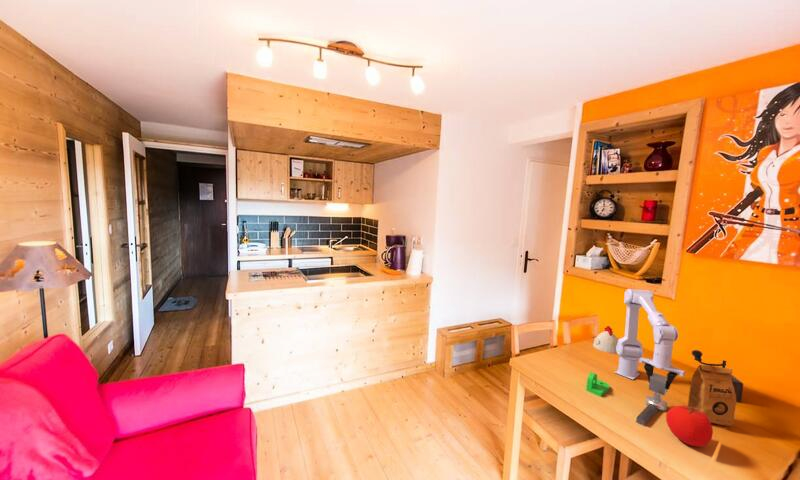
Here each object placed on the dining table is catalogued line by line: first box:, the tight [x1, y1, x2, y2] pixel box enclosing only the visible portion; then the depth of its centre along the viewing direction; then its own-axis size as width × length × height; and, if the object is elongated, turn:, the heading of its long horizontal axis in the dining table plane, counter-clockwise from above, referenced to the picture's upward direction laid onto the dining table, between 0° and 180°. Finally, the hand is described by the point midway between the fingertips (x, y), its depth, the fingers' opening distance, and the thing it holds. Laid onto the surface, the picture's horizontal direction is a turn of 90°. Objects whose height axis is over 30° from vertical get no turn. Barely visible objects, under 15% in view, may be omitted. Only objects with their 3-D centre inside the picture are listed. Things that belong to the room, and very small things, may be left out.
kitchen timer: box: [592, 325, 618, 355], centre depth 190 cm, size 14×14×15 cm
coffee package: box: [687, 364, 737, 427], centre depth 127 cm, size 10×12×22 cm
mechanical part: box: [585, 371, 610, 398], centre depth 147 cm, size 12×6×8 cm, turn 128°
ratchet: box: [635, 392, 668, 426], centre depth 130 cm, size 24×7×5 cm, turn 128°
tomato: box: [665, 404, 714, 448], centre depth 114 cm, size 12×12×13 cm
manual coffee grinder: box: [691, 349, 744, 404], centre depth 147 cm, size 16×11×18 cm
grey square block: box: [648, 372, 669, 396], centre depth 134 cm, size 5×5×6 cm
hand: (658, 385), depth 135 cm, fingers closed on grey square block, 5 cm apart
